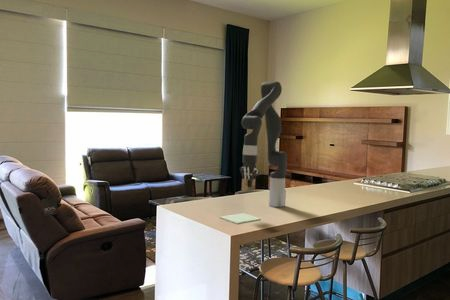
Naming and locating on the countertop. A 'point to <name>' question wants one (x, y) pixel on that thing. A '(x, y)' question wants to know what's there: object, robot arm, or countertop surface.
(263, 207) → the countertop surface
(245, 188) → the brown wooden block
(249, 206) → the countertop surface
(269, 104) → the robot arm
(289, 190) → the countertop surface
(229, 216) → the mat
